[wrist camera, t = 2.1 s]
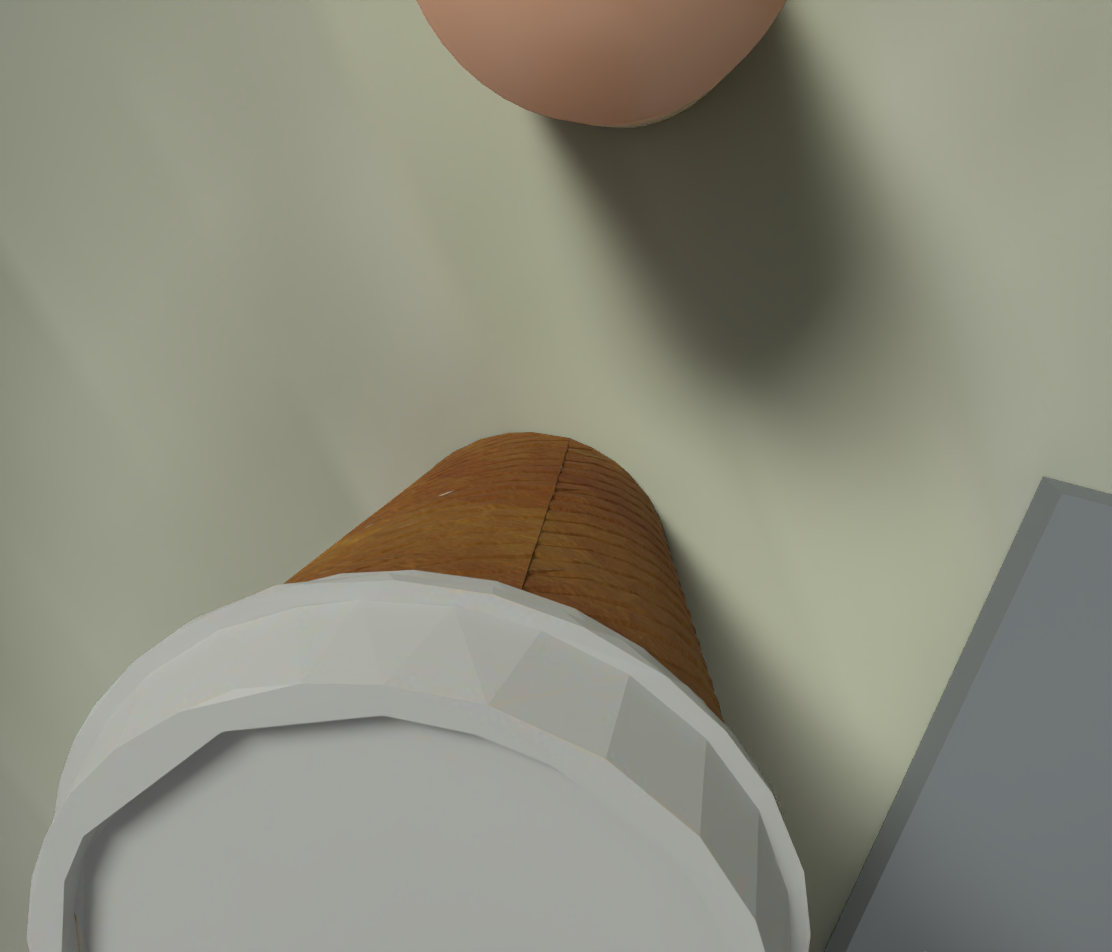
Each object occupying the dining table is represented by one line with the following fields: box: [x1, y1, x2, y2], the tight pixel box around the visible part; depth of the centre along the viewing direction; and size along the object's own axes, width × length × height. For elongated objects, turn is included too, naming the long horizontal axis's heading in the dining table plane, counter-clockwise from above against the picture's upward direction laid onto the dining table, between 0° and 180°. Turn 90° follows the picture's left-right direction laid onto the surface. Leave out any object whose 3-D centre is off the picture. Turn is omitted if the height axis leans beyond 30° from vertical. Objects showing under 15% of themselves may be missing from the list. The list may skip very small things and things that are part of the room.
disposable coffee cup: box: [27, 432, 811, 952], centre depth 16 cm, size 10×10×12 cm
